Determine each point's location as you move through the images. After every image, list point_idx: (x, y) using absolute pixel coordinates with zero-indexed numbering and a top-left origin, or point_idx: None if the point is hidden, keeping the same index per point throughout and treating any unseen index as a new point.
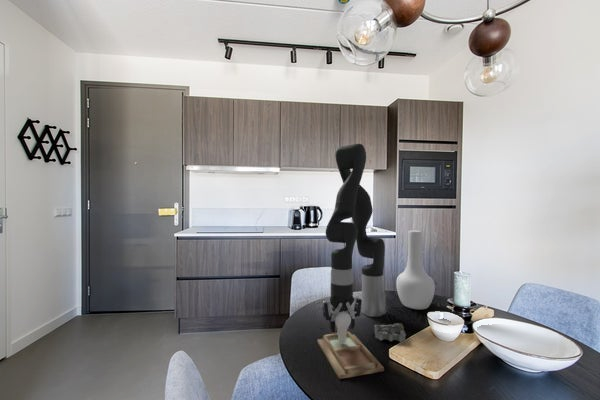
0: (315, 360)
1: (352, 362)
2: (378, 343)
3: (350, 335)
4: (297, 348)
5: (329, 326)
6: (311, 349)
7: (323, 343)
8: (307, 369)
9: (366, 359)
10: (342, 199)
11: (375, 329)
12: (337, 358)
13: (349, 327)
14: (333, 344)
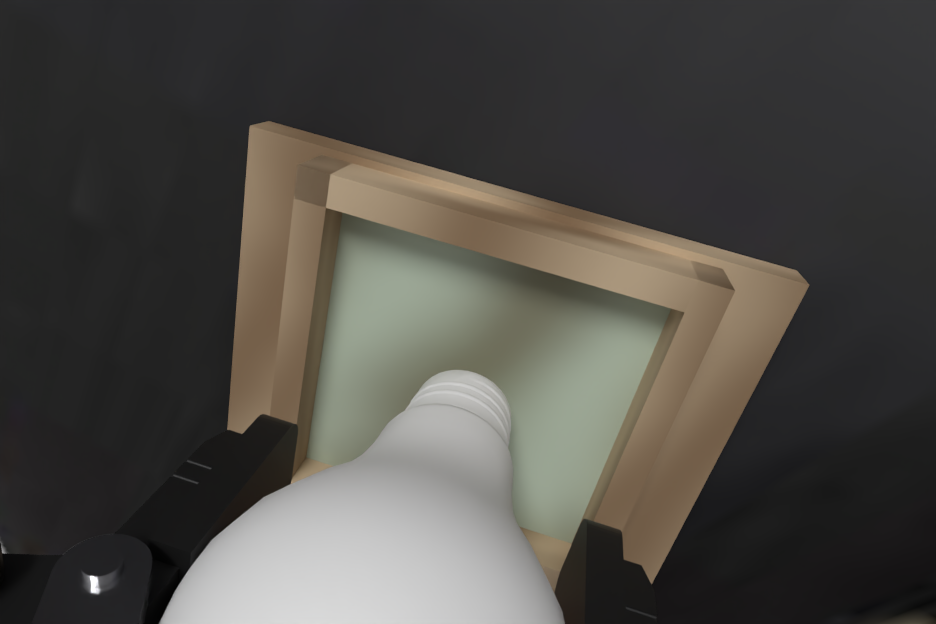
0: (138, 385)
1: None
2: (921, 527)
3: (652, 385)
4: (14, 117)
5: (190, 467)
6: (154, 218)
7: (283, 249)
8: (48, 436)
9: None
10: None
11: None
12: None
13: (577, 538)
14: (373, 340)
